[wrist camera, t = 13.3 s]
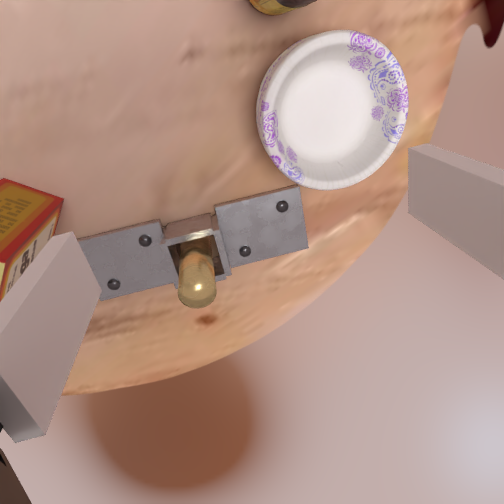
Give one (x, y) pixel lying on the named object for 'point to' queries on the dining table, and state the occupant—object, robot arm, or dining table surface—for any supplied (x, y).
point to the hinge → (221, 225)
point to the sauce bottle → (279, 5)
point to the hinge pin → (196, 273)
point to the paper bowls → (332, 109)
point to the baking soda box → (23, 228)
